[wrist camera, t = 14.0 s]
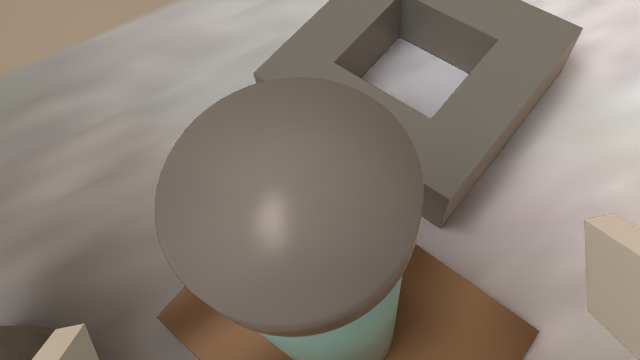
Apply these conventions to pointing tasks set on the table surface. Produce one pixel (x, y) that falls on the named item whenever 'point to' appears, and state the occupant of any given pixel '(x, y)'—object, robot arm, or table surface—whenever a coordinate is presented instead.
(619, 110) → the table surface
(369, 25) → the housing
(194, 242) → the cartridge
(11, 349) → the coffeepot
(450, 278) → the pad
